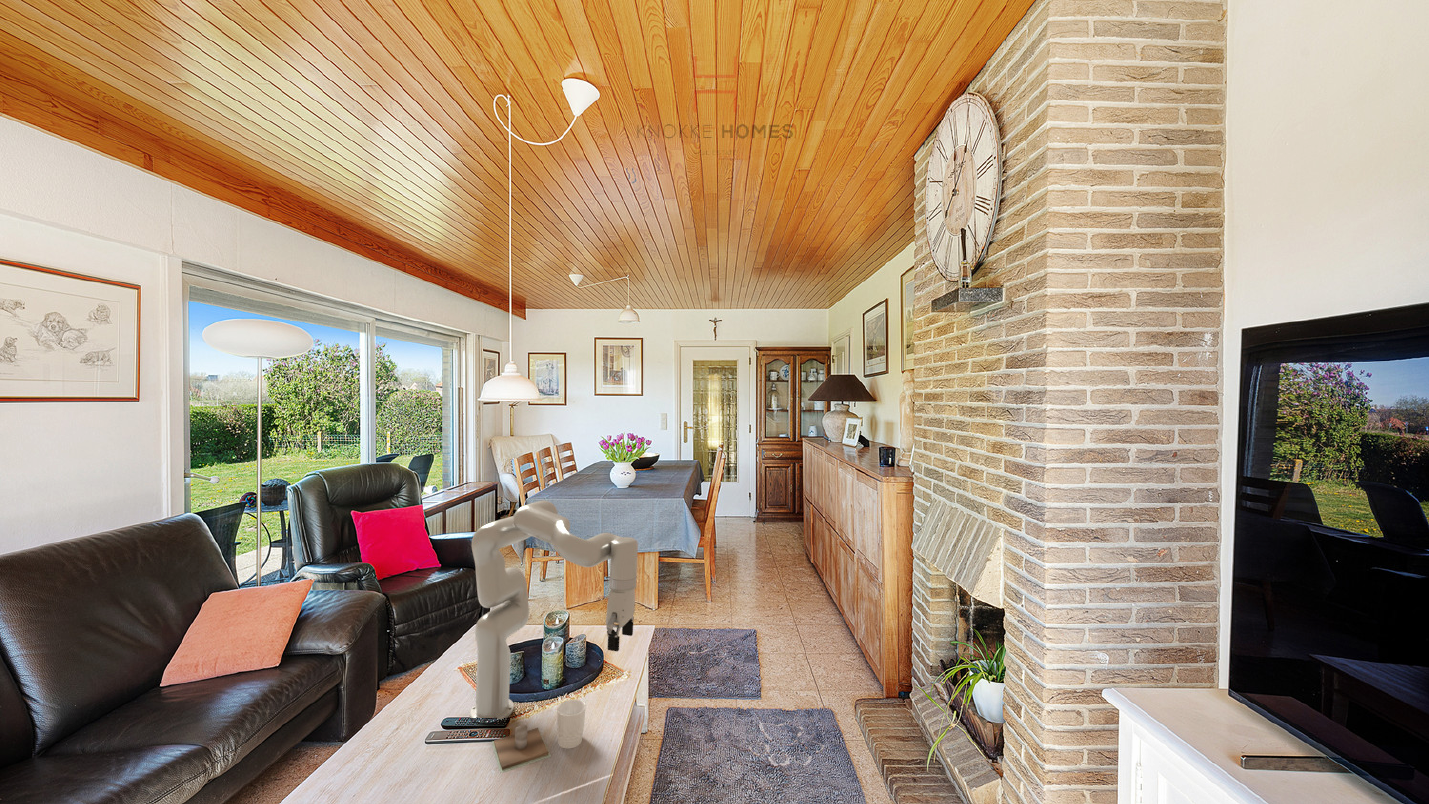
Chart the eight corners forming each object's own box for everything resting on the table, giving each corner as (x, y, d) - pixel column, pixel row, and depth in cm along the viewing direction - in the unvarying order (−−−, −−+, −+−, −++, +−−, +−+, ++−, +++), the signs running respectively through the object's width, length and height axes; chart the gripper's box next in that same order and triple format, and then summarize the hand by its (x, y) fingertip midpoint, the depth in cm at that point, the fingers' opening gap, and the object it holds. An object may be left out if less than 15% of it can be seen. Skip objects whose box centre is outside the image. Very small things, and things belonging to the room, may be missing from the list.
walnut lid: (494, 743, 146) (494, 722, 146) (537, 730, 153) (538, 710, 153) (501, 769, 136) (502, 747, 136) (548, 754, 143) (549, 733, 143)
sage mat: (491, 743, 147) (491, 741, 147) (538, 729, 154) (538, 727, 154) (500, 774, 135) (500, 772, 135) (550, 757, 142) (551, 756, 142)
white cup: (576, 753, 144) (577, 717, 144) (550, 748, 146) (552, 713, 146) (588, 735, 152) (590, 701, 152) (564, 731, 154) (565, 697, 154)
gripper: (623, 571, 156) (620, 627, 156) (597, 591, 139) (594, 654, 139) (646, 574, 154) (644, 631, 155) (622, 595, 138) (620, 659, 138)
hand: (620, 642), depth 147 cm, fingers open, 9 cm apart
